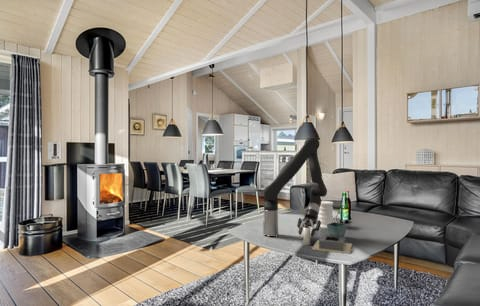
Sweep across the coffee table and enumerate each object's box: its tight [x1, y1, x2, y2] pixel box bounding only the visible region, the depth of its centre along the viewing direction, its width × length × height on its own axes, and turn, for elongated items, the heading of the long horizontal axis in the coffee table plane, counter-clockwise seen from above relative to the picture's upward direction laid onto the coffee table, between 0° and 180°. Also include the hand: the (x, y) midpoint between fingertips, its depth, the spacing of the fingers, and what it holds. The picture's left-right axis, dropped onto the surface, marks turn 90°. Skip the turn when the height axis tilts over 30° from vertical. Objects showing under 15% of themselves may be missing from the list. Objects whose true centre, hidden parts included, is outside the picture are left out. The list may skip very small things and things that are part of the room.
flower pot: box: [326, 221, 347, 237], centre depth 191 cm, size 9×9×9 cm
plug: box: [302, 219, 311, 246], centre depth 180 cm, size 4×4×15 cm
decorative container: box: [318, 200, 334, 229], centre depth 222 cm, size 12×12×18 cm
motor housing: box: [311, 234, 353, 255], centre depth 172 cm, size 20×16×5 cm
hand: (305, 234), depth 178 cm, fingers open, 7 cm apart
